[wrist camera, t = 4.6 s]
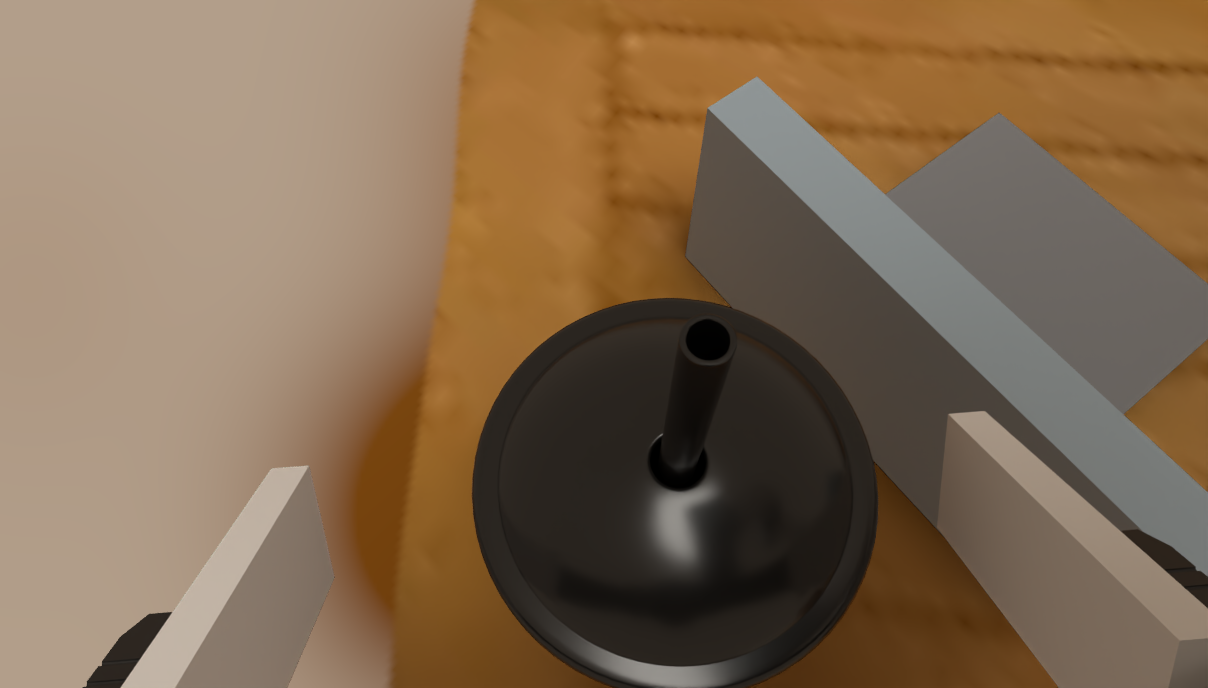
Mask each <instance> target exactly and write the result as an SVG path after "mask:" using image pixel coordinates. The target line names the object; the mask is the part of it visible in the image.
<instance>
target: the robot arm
mask: <svg viewBox="0 0 1208 688" xmlns="http://www.w3.org/2000/svg"><path fill="white" fill-rule="evenodd" d="M937 528H938V530H939V531H940V532H941V533H942V535H943V536H944V537H945V539H946V540H947V541H948V543H949V544H950V545H951V547H952V548H953V549H954V551H955V552H956V553H957V555H958V556H959V557H960V558H961V560H962V561H963V562H964V564H965V565H966V566H967V568H968V569H969V570H970V572H971V573H972V574H973V576H974V577H975V578H976V579H977V581H978V582H979V583H980V585H981V586H982V587H983V589H984V590H985V591H986V593H987V594H988V595H989V597H990V598H991V599H992V600H993V602H994V603H995V604H996V606H997V607H998V608H999V610H1000V611H1001V612H1002V614H1003V615H1004V616H1005V618H1006V619H1007V620H1008V622H1009V623H1010V624H1011V625H1012V627H1013V628H1014V629H1015V631H1016V632H1017V633H1018V635H1019V636H1020V637H1021V639H1022V640H1023V641H1024V643H1025V644H1026V645H1027V646H1028V648H1029V649H1030V650H1031V652H1032V653H1033V654H1034V656H1035V657H1036V658H1037V660H1038V661H1039V662H1040V664H1041V665H1042V666H1043V667H1044V669H1045V670H1046V671H1047V673H1048V674H1049V675H1050V677H1051V678H1052V679H1053V681H1054V682H1055V683H1056V685H1057V686H1058V687H1059V688H1208V576H1206V575H1205V574H1204V573H1203V572H1202V571H1197V570H1196V566H1194V565H1193V564H1192V563H1191V562H1190V561H1188V560H1187V559H1186V558H1185V557H1184V556H1182V555H1181V554H1180V553H1179V552H1178V551H1176V550H1175V549H1174V548H1173V547H1172V546H1170V545H1168V544H1166V543H1164V542H1162V541H1160V540H1158V539H1156V538H1154V537H1152V536H1150V535H1148V534H1146V533H1144V532H1142V531H1140V530H1138V529H1135V530H1123V531H1120V530H1119V529H1117V528H1116V527H1115V526H1114V525H1113V524H1112V523H1111V522H1110V521H1108V520H1107V519H1106V518H1105V517H1104V516H1103V515H1102V514H1101V513H1099V512H1098V511H1097V510H1096V509H1095V508H1094V507H1093V506H1091V505H1090V504H1089V503H1088V502H1087V501H1086V500H1085V499H1084V498H1082V497H1081V496H1080V495H1079V494H1078V493H1077V492H1076V491H1075V490H1073V489H1072V488H1071V487H1070V486H1069V485H1068V484H1067V483H1066V482H1064V481H1063V480H1062V479H1061V478H1060V477H1059V476H1058V475H1056V474H1055V473H1054V472H1053V471H1052V470H1051V469H1050V468H1049V467H1047V466H1046V465H1045V464H1044V463H1043V462H1042V461H1041V460H1040V459H1038V458H1037V457H1036V456H1035V455H1034V454H1033V453H1032V452H1030V451H1029V450H1028V449H1027V448H1026V447H1025V446H1024V445H1023V444H1021V443H1020V442H1019V441H1018V440H1017V439H1016V438H1015V437H1014V436H1012V435H1011V434H1010V433H1009V432H1008V431H1007V430H1006V429H1005V428H1003V427H1002V426H1001V425H1000V424H999V423H998V422H997V421H995V420H994V419H993V418H992V417H991V416H990V415H989V414H988V413H986V412H985V411H978V412H966V413H953V414H948V419H947V429H946V439H945V449H944V460H943V470H942V480H941V490H940V500H939V511H938V521H937ZM334 578H335V577H334V573H333V568H332V564H331V559H330V555H329V550H328V546H327V542H326V537H325V533H324V528H323V524H322V520H321V515H320V511H319V506H318V502H317V498H316V494H315V489H314V485H313V480H312V476H311V471H310V467H309V466H297V467H285V468H272V469H271V470H270V471H269V473H268V474H267V476H266V477H265V478H264V480H263V481H262V483H261V484H260V486H259V487H258V489H257V490H256V492H255V493H254V494H253V496H252V497H251V499H250V500H249V502H248V503H247V505H246V506H245V508H244V509H243V511H242V512H241V513H240V515H239V516H238V518H237V519H236V521H235V522H234V524H233V525H232V526H231V528H230V529H229V531H228V532H227V534H226V535H225V537H224V538H223V540H222V541H221V542H220V544H219V545H218V547H217V548H216V550H215V551H214V553H213V554H212V556H211V557H210V559H209V560H208V561H207V563H206V564H205V566H204V567H203V569H202V570H201V572H200V573H199V574H198V576H197V578H196V579H195V580H194V582H193V583H192V585H191V586H190V588H189V589H188V591H187V592H186V593H185V595H184V596H183V598H182V599H181V601H180V602H179V604H178V605H177V606H176V608H175V609H174V611H173V612H168V613H156V614H149V615H147V616H146V617H145V618H143V619H142V620H141V621H140V622H139V623H137V624H136V625H135V626H134V627H132V628H131V629H130V630H128V631H127V632H126V633H125V634H123V635H122V636H121V637H120V638H119V639H118V641H117V642H116V644H115V645H114V646H113V647H112V649H111V650H110V651H109V653H108V654H107V656H106V657H105V658H104V659H103V661H102V666H98V668H97V669H96V670H95V672H94V673H93V674H92V676H91V677H90V678H89V680H88V681H87V686H86V687H83V688H287V687H288V685H289V682H290V680H291V678H292V675H293V673H294V671H295V668H296V666H297V664H298V662H299V659H300V657H301V655H302V652H303V650H304V648H305V645H306V643H307V641H308V638H309V636H310V634H311V631H312V629H313V627H314V624H315V622H316V620H317V617H318V615H319V613H320V610H321V608H322V606H323V604H324V601H325V599H326V597H327V594H328V592H329V590H330V587H331V585H332V582H333V580H334Z"/></svg>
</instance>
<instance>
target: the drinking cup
mask: <svg viewBox="0 0 1208 688" xmlns="http://www.w3.org/2000/svg"><path fill="white" fill-rule="evenodd" d="M472 502H473V515H474V522H475V528H476V534H477V538H478V542H479V546H480V549H481V553H482V556H483V559H484V561H485V564H486V567H487V569H488V572H489V574H490V576H491V578H492V580H493V582H494V584H495V586H496V588H497V590H498V592H499V594H500V596H501V597H502V599H503V600H504V602H505V603H506V605H507V606H508V608H509V609H510V611H511V612H512V614H513V615H514V616H515V617H516V619H517V620H518V621H519V622H520V624H521V625H522V626H523V627H524V628H525V630H526V631H527V632H528V633H529V634H530V635H531V636H532V637H533V638H534V639H535V640H536V641H537V642H538V643H539V644H540V645H541V646H543V647H544V648H545V649H546V650H547V651H549V652H550V653H551V654H552V655H553V656H555V657H556V658H557V659H559V660H560V661H562V662H563V663H565V664H566V665H568V666H569V667H571V668H572V669H574V670H575V671H577V672H579V673H581V674H583V675H585V676H587V677H589V678H590V679H593V680H595V681H597V682H600V683H602V684H605V685H607V686H609V687H612V688H749V687H751V686H754V685H757V684H760V683H762V682H764V681H766V680H768V679H770V678H772V677H774V676H776V675H778V674H780V673H782V672H783V671H785V670H787V669H788V668H790V667H791V666H793V665H794V664H796V663H797V662H799V661H800V660H801V659H803V658H804V657H805V656H806V655H807V654H809V653H810V652H811V651H812V650H814V649H815V648H816V647H817V646H818V645H819V644H820V643H821V642H822V641H823V640H824V639H825V638H826V637H827V636H828V635H829V634H830V632H831V631H832V630H833V629H834V628H835V626H836V625H837V624H838V622H839V621H840V620H841V619H842V617H843V616H844V614H845V613H846V611H847V610H848V608H849V606H850V605H851V603H852V602H853V600H854V598H855V596H856V594H857V592H858V590H859V588H860V586H861V584H862V582H863V579H864V577H865V574H866V571H867V568H868V566H869V563H870V559H871V556H872V551H873V547H874V543H875V538H876V529H877V522H878V491H877V479H876V473H875V468H874V462H873V458H872V454H871V451H870V447H869V444H868V441H867V438H866V435H865V433H864V430H863V427H862V425H861V423H860V421H859V419H858V417H857V415H856V413H855V411H854V409H853V407H852V405H851V403H850V402H849V400H848V399H847V397H846V395H845V394H844V392H843V391H842V389H841V388H840V386H839V385H838V384H837V382H836V381H835V380H834V378H833V377H832V376H831V375H830V373H829V372H828V371H827V370H826V369H825V368H824V367H823V366H822V364H821V363H820V362H819V361H818V360H817V359H816V358H815V357H814V356H813V355H811V354H810V353H809V352H808V351H807V350H806V349H805V348H804V347H803V346H801V345H800V344H799V343H797V342H796V341H795V340H793V339H792V338H791V337H789V336H788V335H787V334H785V333H783V332H782V331H780V330H779V329H777V328H776V327H774V326H772V325H770V324H768V323H766V322H764V321H763V320H761V319H759V318H757V317H754V316H752V315H749V314H747V313H745V312H742V311H740V310H736V309H733V308H730V307H727V306H723V305H720V304H715V303H711V302H706V301H699V300H692V299H678V298H660V299H647V300H639V301H632V302H628V303H623V304H619V305H615V306H612V307H609V308H606V309H602V310H600V311H597V312H595V313H592V314H590V315H587V316H585V317H583V318H581V319H579V320H577V321H575V322H573V323H571V324H570V325H568V326H566V327H565V328H563V329H562V330H560V331H559V332H557V333H555V334H554V335H553V336H551V337H550V338H549V339H547V340H546V341H545V342H543V343H542V344H541V345H540V346H539V347H537V348H536V349H535V350H534V351H533V352H532V353H531V354H530V355H529V356H528V357H527V358H526V359H525V360H524V361H523V362H522V363H521V365H520V366H519V367H518V368H517V369H516V370H515V371H514V373H513V374H512V375H511V377H510V378H509V380H508V381H507V382H506V384H505V385H504V387H503V388H502V390H501V391H500V393H499V395H498V397H497V398H496V400H495V402H494V404H493V406H492V408H491V410H490V412H489V415H488V417H487V419H486V422H485V424H484V427H483V430H482V433H481V436H480V439H479V443H478V448H477V452H476V456H475V463H474V470H473V483H472Z"/></svg>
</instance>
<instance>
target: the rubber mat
mask: <svg viewBox="0 0 1208 688" xmlns="http://www.w3.org/2000/svg"><path fill="white" fill-rule="evenodd" d="M885 195H886V196H887V197H888V198H889V199H890V200H891V201H892V202H894V203H895V204H896V205H897V206H898V207H899V208H900V209H901V210H902V211H903V212H904V213H905V214H907V215H908V216H909V217H910V218H911V219H912V220H913V221H914V222H915V223H916V224H917V225H918V226H920V227H921V228H922V229H923V230H924V231H925V232H926V233H927V234H928V235H929V236H930V237H931V238H933V239H934V240H935V241H936V242H937V243H938V244H939V245H940V246H941V247H942V248H943V249H944V250H946V251H947V252H948V253H949V254H950V255H951V256H952V257H953V258H954V259H955V260H956V261H957V262H959V263H960V264H961V265H962V266H963V267H964V268H965V269H966V270H967V271H968V272H969V273H970V274H972V275H973V276H974V277H975V278H976V279H977V280H978V281H979V282H980V283H981V284H982V285H983V286H985V287H986V288H987V289H988V290H989V291H990V292H991V293H992V294H993V295H994V296H995V297H996V298H998V299H999V300H1000V301H1001V302H1002V303H1003V304H1004V305H1005V306H1006V307H1007V308H1008V309H1009V310H1011V311H1012V312H1013V313H1014V314H1015V315H1016V316H1017V317H1018V318H1019V319H1020V320H1021V321H1022V322H1024V323H1025V324H1026V325H1027V326H1028V327H1029V328H1030V329H1031V330H1032V331H1033V332H1034V333H1035V334H1037V335H1038V336H1039V337H1040V338H1041V339H1042V340H1043V341H1044V342H1045V343H1046V344H1047V345H1048V346H1050V347H1051V348H1052V349H1053V350H1054V351H1055V352H1056V353H1057V354H1058V355H1059V356H1060V357H1061V358H1063V359H1064V360H1065V361H1066V362H1067V363H1068V364H1069V365H1070V366H1071V367H1072V368H1073V369H1074V370H1076V371H1077V372H1078V373H1079V374H1080V375H1081V376H1082V377H1083V378H1084V379H1085V380H1086V381H1087V382H1089V383H1090V384H1091V385H1092V386H1093V387H1094V388H1095V389H1096V390H1097V391H1098V392H1099V393H1100V394H1102V395H1103V396H1104V397H1105V398H1106V399H1107V400H1108V401H1109V402H1110V403H1111V404H1112V405H1114V406H1115V407H1116V408H1117V409H1118V410H1119V411H1120V412H1121V413H1122V414H1124V413H1125V412H1127V411H1128V410H1129V409H1130V408H1131V407H1132V406H1133V405H1134V404H1136V403H1137V402H1138V401H1139V400H1140V399H1141V398H1142V397H1143V396H1144V395H1146V394H1147V393H1148V392H1149V391H1150V390H1151V389H1152V388H1153V387H1155V386H1156V385H1157V384H1158V383H1159V382H1160V381H1161V380H1162V379H1164V378H1165V377H1166V376H1167V375H1168V374H1169V373H1170V372H1171V371H1172V370H1174V369H1175V368H1176V367H1177V366H1178V365H1179V364H1180V363H1181V362H1183V361H1184V360H1185V359H1186V358H1187V357H1188V356H1189V355H1190V354H1192V353H1193V352H1194V351H1195V350H1196V349H1197V348H1198V347H1199V346H1201V345H1202V344H1203V343H1204V342H1205V341H1206V340H1207V339H1208V284H1207V283H1206V282H1205V281H1204V280H1202V279H1201V278H1200V277H1199V276H1198V275H1196V274H1195V273H1194V272H1193V271H1191V270H1190V269H1189V268H1188V267H1187V266H1185V265H1184V264H1183V263H1182V262H1181V261H1179V260H1178V259H1177V258H1176V257H1174V256H1173V255H1172V254H1171V253H1170V252H1168V251H1167V250H1166V249H1165V248H1163V247H1162V246H1161V245H1160V244H1159V243H1157V242H1156V241H1155V240H1154V239H1153V238H1151V237H1150V236H1149V235H1148V234H1146V233H1145V232H1144V231H1143V230H1142V229H1140V228H1139V227H1138V226H1137V225H1135V224H1134V223H1133V222H1132V221H1131V220H1129V219H1128V218H1127V217H1126V216H1125V215H1123V214H1122V213H1121V212H1120V211H1118V210H1117V209H1116V208H1115V207H1114V206H1112V205H1111V204H1110V203H1109V202H1107V201H1106V200H1105V199H1104V198H1103V197H1101V196H1100V195H1099V194H1098V193H1096V192H1095V191H1094V190H1093V189H1092V188H1090V187H1089V186H1088V185H1087V184H1086V183H1084V182H1083V181H1082V180H1081V179H1079V178H1078V177H1077V176H1076V175H1075V174H1073V173H1072V172H1071V171H1070V170H1068V169H1067V168H1066V167H1065V166H1064V165H1062V164H1061V163H1060V162H1059V161H1058V160H1056V159H1055V158H1054V157H1053V156H1051V155H1050V154H1049V153H1048V152H1047V151H1045V150H1044V149H1043V148H1042V147H1040V146H1039V145H1038V144H1037V143H1036V142H1034V141H1033V140H1032V139H1031V138H1030V137H1028V136H1027V135H1026V134H1025V133H1023V132H1022V131H1021V130H1020V129H1019V128H1017V127H1016V126H1015V125H1014V124H1012V123H1011V122H1010V121H1009V120H1008V119H1006V118H1005V117H1004V116H1003V115H1002V114H1000V113H998V114H997V115H995V116H994V117H992V118H991V119H990V120H988V121H987V122H985V123H984V124H983V125H981V126H980V127H978V128H977V129H976V130H974V131H973V132H971V133H970V134H969V135H967V136H966V137H964V138H963V139H962V140H960V141H959V142H958V143H956V144H955V145H953V146H952V147H951V148H949V149H948V150H946V151H945V152H944V153H942V154H941V155H939V156H938V157H937V158H935V159H934V160H932V161H931V162H930V163H928V164H927V165H926V166H924V167H923V168H921V169H920V170H919V171H917V172H916V173H914V174H913V175H912V176H910V177H909V178H907V179H906V180H905V181H903V182H902V183H900V184H899V185H898V186H896V187H895V188H893V189H892V190H891V191H889V192H888V193H887V194H885Z"/></svg>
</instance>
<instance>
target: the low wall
mask: <svg viewBox="0 0 1208 688" xmlns="http://www.w3.org/2000/svg"><path fill="white" fill-rule="evenodd" d="M685 257H686V258H687V259H688V260H689V261H690V262H691V263H692V264H693V265H694V267H695V268H696V269H697V270H698V271H699V272H700V273H701V274H702V275H703V276H704V277H705V278H706V280H707V281H708V282H709V283H710V284H711V285H712V286H713V287H714V288H715V289H716V290H717V291H718V293H719V294H720V295H721V296H722V297H723V298H724V299H725V300H726V301H727V302H728V303H729V304H730V306H731V307H732V308H733V309H736V310H740V311H742V312H745V313H747V314H749V315H752V316H754V317H757V318H759V319H761V320H763V321H764V322H766V323H768V324H770V325H772V326H774V327H776V328H777V329H779V330H780V331H782V332H783V333H785V334H787V335H788V336H789V337H791V338H792V339H793V340H795V341H796V342H797V343H799V344H800V345H801V346H803V347H804V348H805V349H806V350H807V351H808V352H809V353H810V354H811V355H813V356H814V357H815V358H816V359H817V360H818V361H819V362H820V363H821V364H822V366H823V367H824V368H825V369H826V370H827V371H828V372H829V373H830V375H831V376H832V377H833V378H834V380H835V381H836V382H837V384H838V385H839V386H840V388H841V389H842V391H843V392H844V394H845V395H846V397H847V399H848V400H849V402H850V403H851V405H852V407H853V409H854V411H855V413H856V415H857V417H858V419H859V421H860V423H861V425H862V427H863V430H864V433H865V435H866V438H867V441H868V444H869V447H870V451H871V454H872V458H873V461H874V462H875V463H876V464H877V465H878V466H879V467H880V468H881V469H882V470H883V471H884V472H885V474H886V475H887V476H888V477H889V478H890V479H891V480H892V481H893V482H894V483H895V484H896V485H897V487H898V488H899V489H900V490H901V491H902V492H903V493H904V494H905V495H906V496H907V497H908V498H909V500H910V501H911V502H912V503H913V504H914V505H915V506H916V507H917V508H918V509H919V510H920V511H921V513H922V514H923V515H924V516H925V517H926V518H927V519H928V520H929V521H930V522H931V523H932V524H933V526H934V527H935V528H936V529H937V530H938V528H937V521H938V511H939V500H940V490H941V480H942V470H943V460H944V449H945V439H946V429H947V419H948V414H953V413H966V412H978V411H985V412H986V413H988V414H989V415H990V416H991V417H992V418H993V419H994V420H995V421H997V422H998V423H999V424H1000V425H1001V426H1002V427H1003V428H1005V429H1006V430H1007V431H1008V432H1009V433H1010V434H1011V435H1012V436H1014V437H1015V438H1016V439H1017V440H1018V441H1019V442H1020V443H1021V444H1023V445H1024V446H1025V447H1026V448H1027V449H1028V450H1029V451H1030V452H1032V453H1033V454H1034V455H1035V456H1036V457H1037V458H1038V459H1040V460H1041V461H1042V462H1043V463H1044V464H1045V465H1046V466H1047V467H1049V468H1050V469H1051V470H1052V471H1053V472H1054V473H1055V474H1056V475H1058V476H1059V477H1060V478H1061V479H1062V480H1063V481H1064V482H1066V483H1067V484H1068V485H1069V486H1070V487H1071V488H1072V489H1073V490H1075V491H1076V492H1077V493H1078V494H1079V495H1080V496H1081V497H1082V498H1084V499H1085V500H1086V501H1087V502H1088V503H1089V504H1090V505H1091V506H1093V507H1094V508H1095V509H1096V510H1097V511H1098V512H1099V513H1101V514H1102V515H1103V516H1104V517H1105V518H1106V519H1107V520H1108V521H1110V522H1111V523H1112V524H1113V525H1114V526H1115V527H1116V528H1117V529H1119V530H1120V531H1123V530H1135V529H1138V530H1140V531H1142V532H1144V533H1146V534H1148V535H1150V536H1152V537H1154V538H1156V539H1158V540H1160V541H1162V542H1164V543H1166V544H1168V545H1170V546H1172V547H1173V548H1174V549H1175V550H1176V551H1178V552H1179V553H1180V554H1181V555H1182V556H1184V557H1185V558H1186V559H1187V560H1188V561H1190V562H1191V563H1192V564H1193V565H1194V566H1196V570H1197V571H1202V572H1203V573H1204V574H1205V575H1206V576H1208V492H1207V491H1206V490H1205V489H1203V488H1202V487H1201V486H1200V485H1199V484H1198V483H1197V482H1196V481H1195V480H1194V479H1193V478H1192V477H1190V476H1189V475H1188V474H1187V473H1186V472H1185V471H1184V470H1183V469H1182V468H1181V467H1180V466H1179V465H1177V464H1176V463H1175V462H1174V461H1173V460H1172V459H1171V458H1170V457H1169V456H1168V455H1167V454H1166V453H1164V452H1163V451H1162V450H1161V449H1160V448H1159V447H1158V446H1157V445H1156V444H1155V443H1154V442H1153V441H1151V440H1150V439H1149V438H1148V437H1147V436H1146V435H1145V434H1144V433H1143V432H1142V431H1141V430H1140V429H1138V428H1137V427H1136V426H1135V425H1134V424H1133V423H1132V422H1131V421H1130V420H1129V419H1128V418H1127V417H1125V416H1124V415H1123V414H1122V413H1121V412H1120V411H1119V410H1118V409H1117V408H1116V407H1115V406H1114V405H1112V404H1111V403H1110V402H1109V401H1108V400H1107V399H1106V398H1105V397H1104V396H1103V395H1102V394H1100V393H1099V392H1098V391H1097V390H1096V389H1095V388H1094V387H1093V386H1092V385H1091V384H1090V383H1089V382H1087V381H1086V380H1085V379H1084V378H1083V377H1082V376H1081V375H1080V374H1079V373H1078V372H1077V371H1076V370H1074V369H1073V368H1072V367H1071V366H1070V365H1069V364H1068V363H1067V362H1066V361H1065V360H1064V359H1063V358H1061V357H1060V356H1059V355H1058V354H1057V353H1056V352H1055V351H1054V350H1053V349H1052V348H1051V347H1050V346H1048V345H1047V344H1046V343H1045V342H1044V341H1043V340H1042V339H1041V338H1040V337H1039V336H1038V335H1037V334H1035V333H1034V332H1033V331H1032V330H1031V329H1030V328H1029V327H1028V326H1027V325H1026V324H1025V323H1024V322H1022V321H1021V320H1020V319H1019V318H1018V317H1017V316H1016V315H1015V314H1014V313H1013V312H1012V311H1011V310H1009V309H1008V308H1007V307H1006V306H1005V305H1004V304H1003V303H1002V302H1001V301H1000V300H999V299H998V298H996V297H995V296H994V295H993V294H992V293H991V292H990V291H989V290H988V289H987V288H986V287H985V286H983V285H982V284H981V283H980V282H979V281H978V280H977V279H976V278H975V277H974V276H973V275H972V274H970V273H969V272H968V271H967V270H966V269H965V268H964V267H963V266H962V265H961V264H960V263H959V262H957V261H956V260H955V259H954V258H953V257H952V256H951V255H950V254H949V253H948V252H947V251H946V250H944V249H943V248H942V247H941V246H940V245H939V244H938V243H937V242H936V241H935V240H934V239H933V238H931V237H930V236H929V235H928V234H927V233H926V232H925V231H924V230H923V229H922V228H921V227H920V226H918V225H917V224H916V223H915V222H914V221H913V220H912V219H911V218H910V217H909V216H908V215H907V214H905V213H904V212H903V211H902V210H901V209H900V208H899V207H898V206H897V205H896V204H895V203H894V202H892V201H891V200H890V199H889V198H888V197H887V196H886V195H885V194H884V193H883V192H882V191H881V190H879V189H878V188H877V187H876V186H875V185H874V184H873V183H872V182H871V181H870V180H869V179H868V178H866V177H865V176H864V175H863V174H862V173H861V172H860V171H859V170H858V169H857V168H856V167H855V166H853V165H852V164H851V163H850V162H849V161H848V160H847V159H846V158H845V157H844V156H843V155H842V154H840V153H839V152H838V151H837V150H836V149H835V148H834V147H833V146H832V145H831V144H830V143H829V142H827V141H826V140H825V139H824V138H823V137H822V136H821V135H820V134H819V133H818V132H817V131H816V130H814V129H813V128H812V127H811V126H810V125H809V124H808V123H807V122H806V121H805V120H804V119H803V118H801V117H800V116H799V115H798V114H797V113H796V112H795V111H794V110H793V109H792V108H791V107H790V106H788V105H787V104H786V103H785V102H784V101H783V100H782V99H781V98H780V97H779V96H778V95H777V94H775V93H774V92H773V91H772V90H771V89H770V88H769V87H768V86H767V85H766V84H765V83H764V82H762V81H761V80H760V79H759V78H758V77H756V78H754V79H752V80H751V81H749V82H748V83H746V84H745V85H743V86H741V87H740V88H738V89H737V90H735V91H734V92H732V93H730V94H729V95H727V96H726V97H724V98H723V99H721V100H719V101H718V102H716V103H715V104H713V105H712V106H710V107H708V109H707V115H706V122H705V129H704V135H703V142H702V148H701V155H700V162H699V168H698V175H697V182H696V188H695V195H694V202H693V208H692V215H691V221H690V228H689V235H688V241H687V248H686V255H685ZM938 531H939V530H938ZM939 532H940V531H939ZM940 533H941V532H940ZM941 534H942V533H941Z"/></svg>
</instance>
